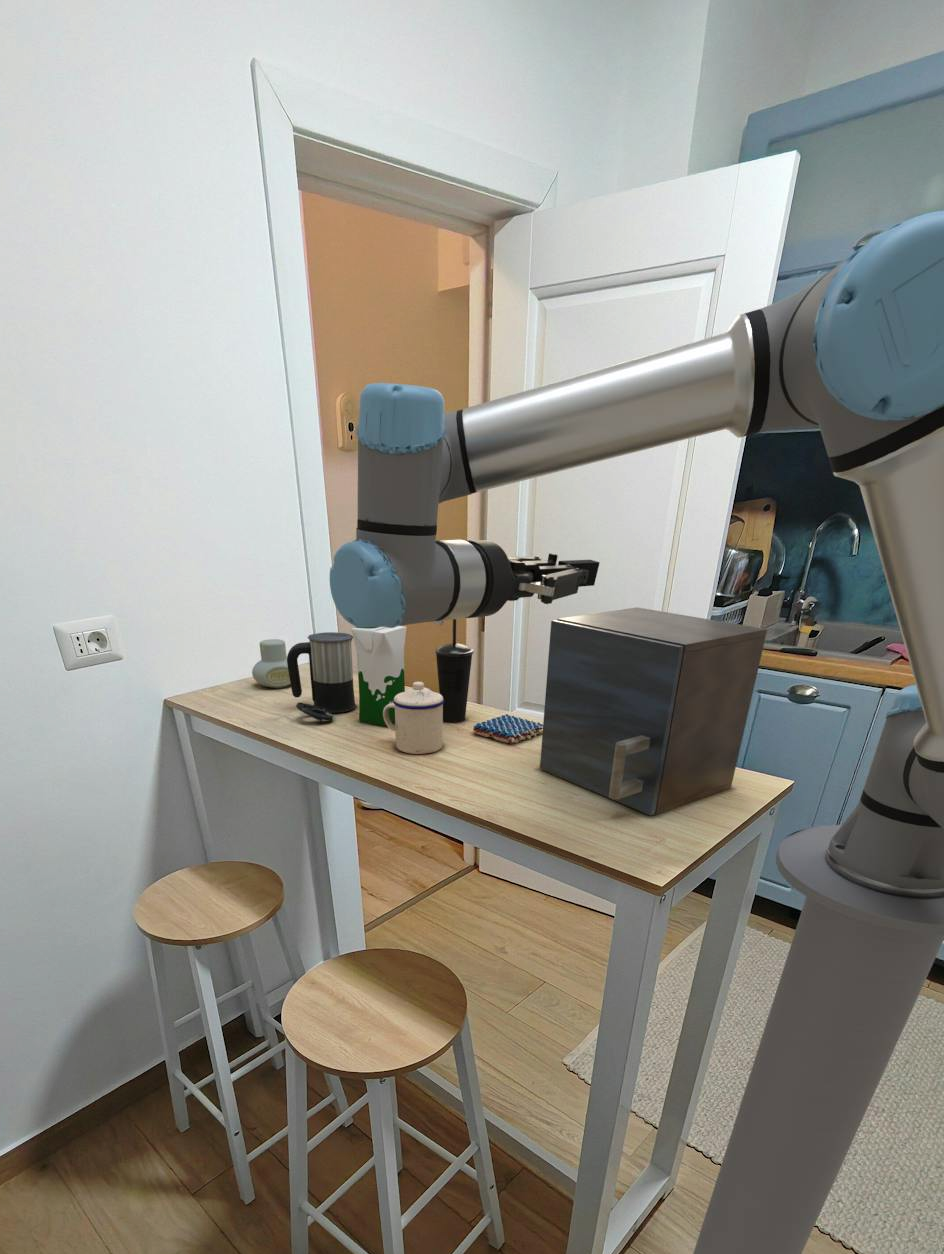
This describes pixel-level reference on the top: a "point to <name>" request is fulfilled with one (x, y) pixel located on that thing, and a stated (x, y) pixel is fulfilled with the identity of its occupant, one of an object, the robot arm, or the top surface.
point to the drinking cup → (454, 678)
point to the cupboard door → (609, 711)
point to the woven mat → (508, 729)
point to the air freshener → (272, 665)
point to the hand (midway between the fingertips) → (592, 572)
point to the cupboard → (697, 695)
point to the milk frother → (325, 674)
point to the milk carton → (379, 670)
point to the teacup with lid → (417, 720)
